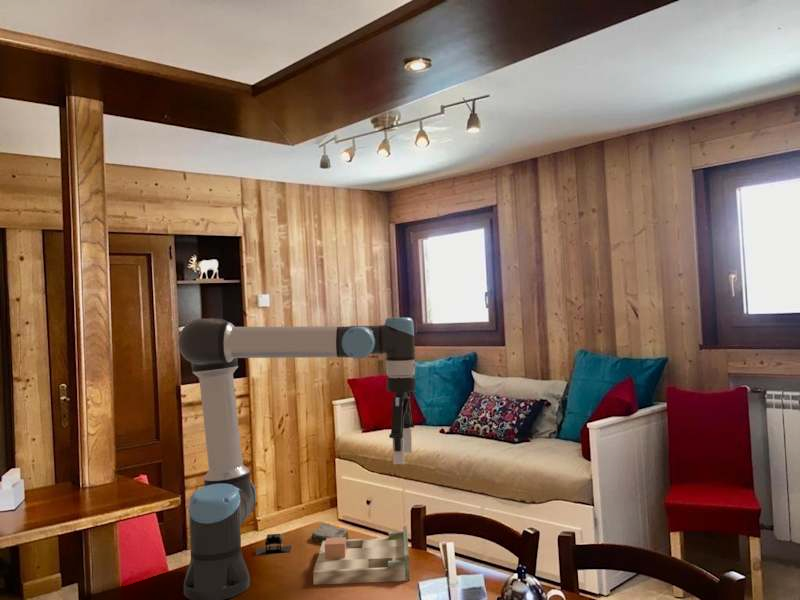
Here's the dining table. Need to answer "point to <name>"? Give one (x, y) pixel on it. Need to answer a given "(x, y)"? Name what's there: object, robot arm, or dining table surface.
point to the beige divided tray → (366, 561)
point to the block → (335, 547)
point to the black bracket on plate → (273, 549)
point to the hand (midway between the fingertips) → (402, 458)
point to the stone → (328, 533)
